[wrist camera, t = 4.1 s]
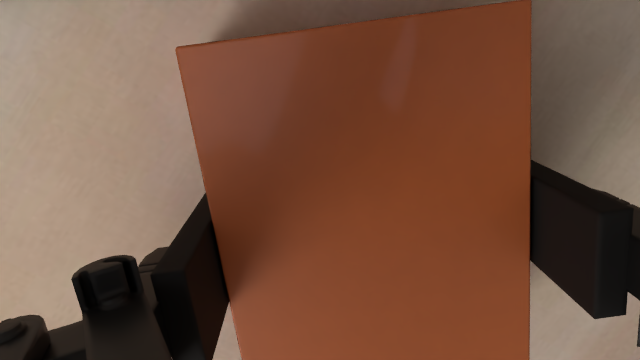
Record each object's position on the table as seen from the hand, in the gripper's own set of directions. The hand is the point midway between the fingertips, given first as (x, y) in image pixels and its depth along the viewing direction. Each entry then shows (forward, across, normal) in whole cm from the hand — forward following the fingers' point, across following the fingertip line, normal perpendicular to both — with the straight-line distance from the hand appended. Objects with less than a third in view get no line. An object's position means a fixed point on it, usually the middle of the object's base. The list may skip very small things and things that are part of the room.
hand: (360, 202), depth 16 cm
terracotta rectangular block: (0, 0, 0) cm, 0 cm away
